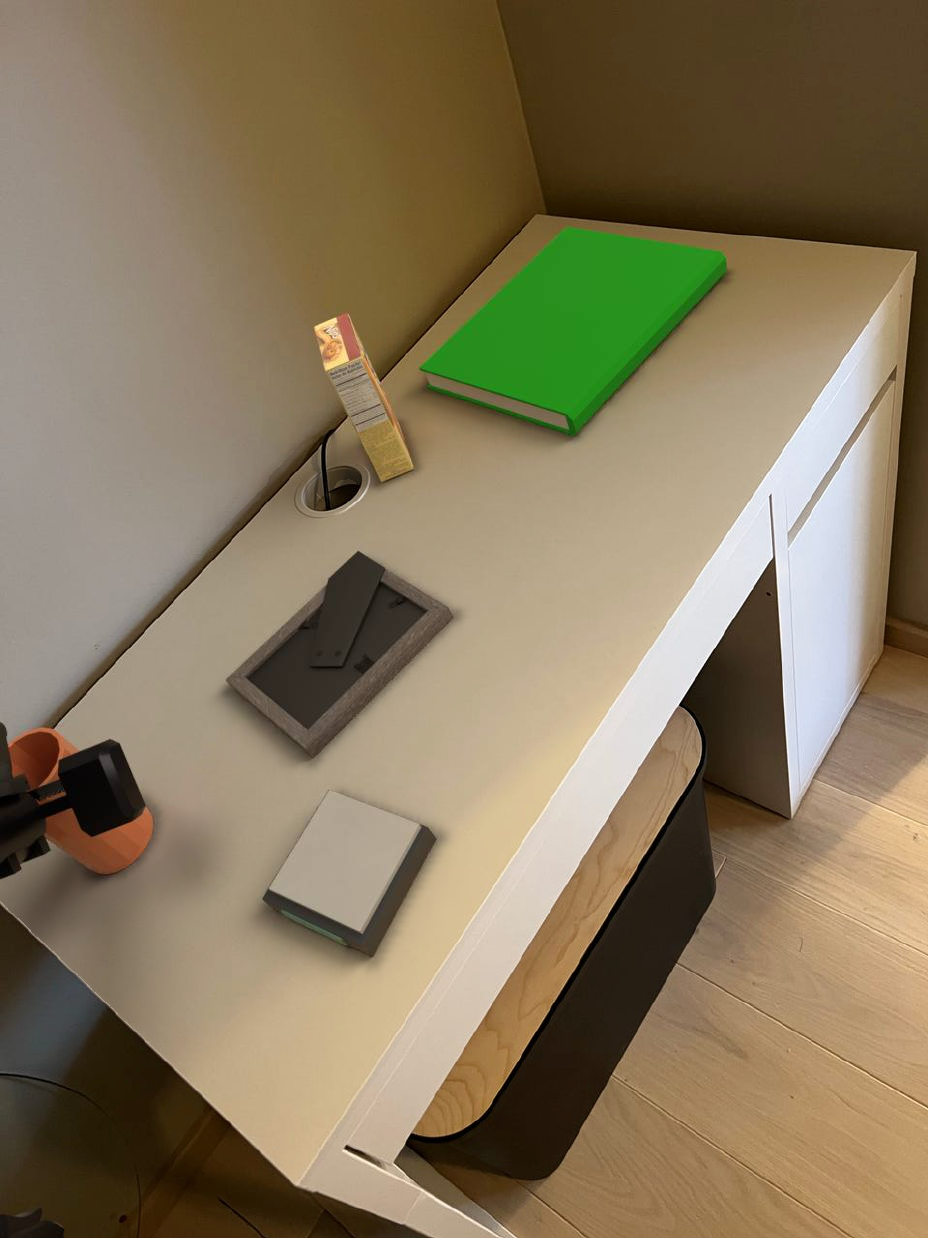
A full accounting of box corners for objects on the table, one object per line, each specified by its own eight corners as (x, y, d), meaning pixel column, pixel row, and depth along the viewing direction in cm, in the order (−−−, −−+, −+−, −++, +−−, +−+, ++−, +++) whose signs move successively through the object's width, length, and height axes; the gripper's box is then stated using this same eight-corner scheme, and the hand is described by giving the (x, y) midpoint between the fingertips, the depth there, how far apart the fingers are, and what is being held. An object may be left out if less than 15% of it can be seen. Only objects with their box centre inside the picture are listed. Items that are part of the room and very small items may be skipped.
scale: (371, 959, 71) (357, 947, 69) (271, 911, 76) (256, 898, 74) (436, 838, 75) (425, 823, 73) (338, 800, 80) (325, 785, 78)
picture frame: (365, 563, 97) (233, 689, 92) (358, 550, 96) (223, 677, 91) (453, 617, 89) (313, 758, 84) (446, 603, 88) (303, 746, 82)
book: (427, 388, 112) (418, 367, 110) (572, 247, 121) (566, 226, 119) (577, 437, 99) (571, 415, 97) (728, 275, 108) (725, 251, 106)
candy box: (367, 437, 110) (310, 326, 99) (401, 423, 110) (347, 309, 99) (381, 484, 104) (322, 371, 93) (417, 468, 104) (362, 354, 93)
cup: (109, 888, 82) (10, 819, 73) (71, 849, 86) (-28, 778, 77) (167, 826, 84) (78, 751, 75) (127, 790, 88) (38, 714, 79)
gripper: (34, 690, 63) (130, 662, 79) (-212, 791, 65) (-71, 743, 80) (101, 846, 64) (183, 787, 79) (-146, 942, 65) (-18, 866, 81)
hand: (67, 793), depth 80 cm, fingers open, 9 cm apart
